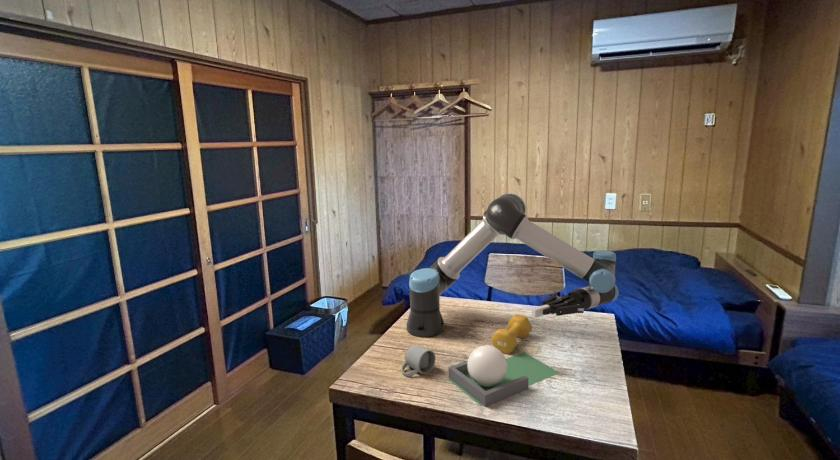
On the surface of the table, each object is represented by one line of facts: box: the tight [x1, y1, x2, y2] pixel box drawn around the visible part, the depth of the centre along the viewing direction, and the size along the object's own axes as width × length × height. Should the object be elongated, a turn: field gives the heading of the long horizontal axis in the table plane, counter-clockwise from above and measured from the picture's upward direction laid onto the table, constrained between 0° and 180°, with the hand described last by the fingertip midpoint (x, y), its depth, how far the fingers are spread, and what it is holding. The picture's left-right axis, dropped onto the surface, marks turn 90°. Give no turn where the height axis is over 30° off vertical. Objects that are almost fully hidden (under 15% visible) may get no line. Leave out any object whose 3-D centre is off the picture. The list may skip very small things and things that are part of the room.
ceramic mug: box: [401, 344, 437, 378], centre depth 140 cm, size 11×8×8 cm
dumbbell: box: [491, 314, 533, 355], centre depth 156 cm, size 19×9×8 cm, turn 145°
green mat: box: [448, 352, 560, 407], centre depth 135 cm, size 16×32×1 cm, turn 121°
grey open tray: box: [447, 360, 529, 407], centre depth 131 cm, size 18×16×4 cm
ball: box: [467, 344, 507, 387], centre depth 130 cm, size 12×12×12 cm
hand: (533, 313), depth 137 cm, fingers closed
